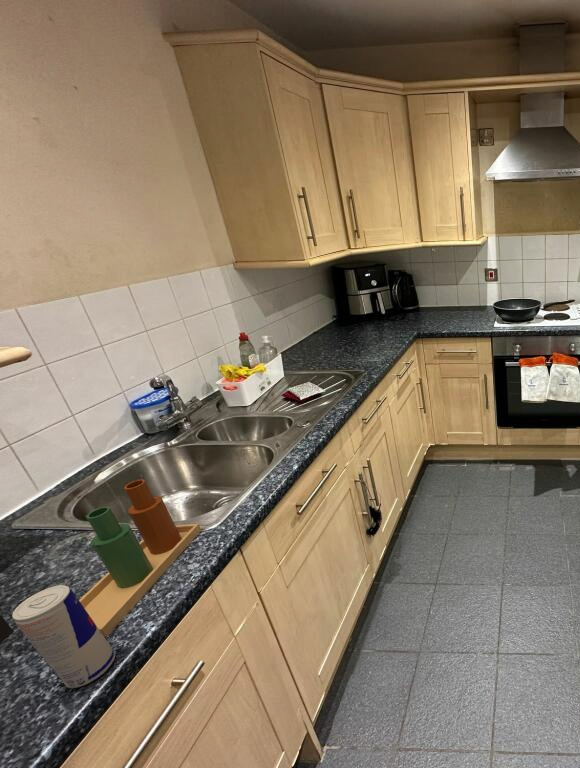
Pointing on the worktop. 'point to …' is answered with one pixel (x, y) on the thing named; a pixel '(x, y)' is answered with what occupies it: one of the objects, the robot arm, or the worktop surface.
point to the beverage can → (64, 635)
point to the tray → (115, 603)
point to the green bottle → (118, 549)
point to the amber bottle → (152, 518)
